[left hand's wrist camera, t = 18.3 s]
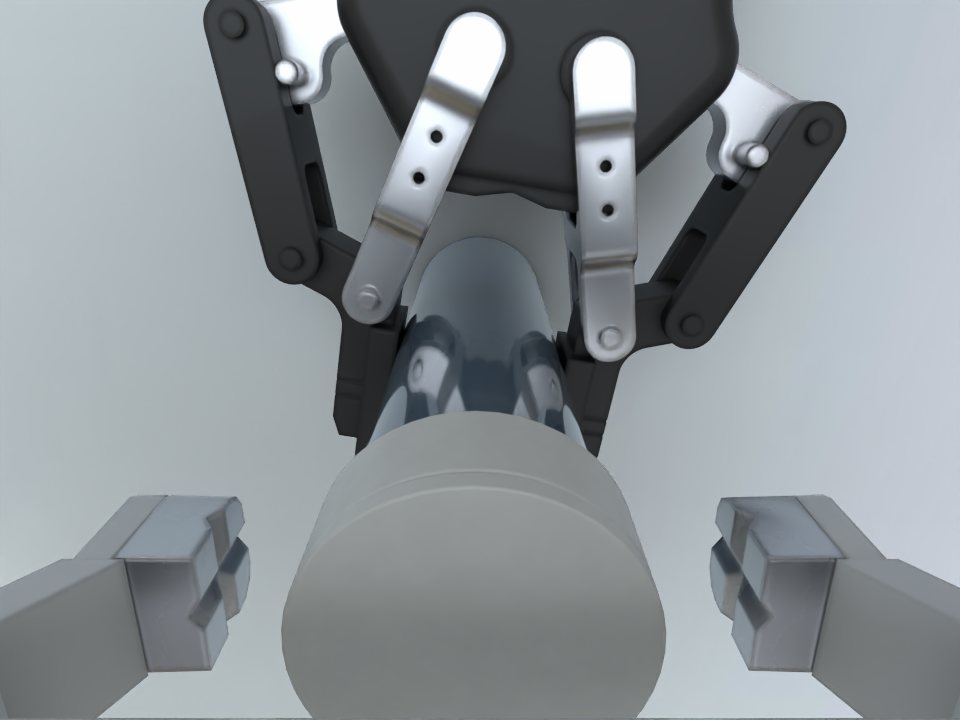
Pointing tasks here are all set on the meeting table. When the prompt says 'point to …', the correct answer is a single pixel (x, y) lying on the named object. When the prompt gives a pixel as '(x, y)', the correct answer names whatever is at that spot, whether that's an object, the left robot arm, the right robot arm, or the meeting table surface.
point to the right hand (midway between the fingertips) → (462, 457)
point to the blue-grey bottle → (478, 344)
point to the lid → (474, 581)
